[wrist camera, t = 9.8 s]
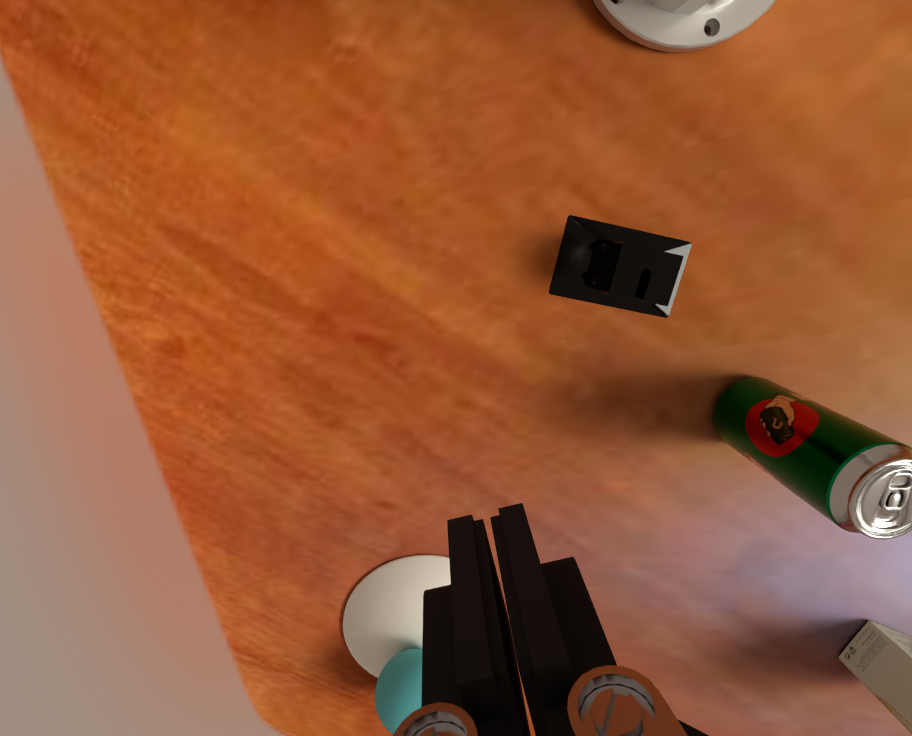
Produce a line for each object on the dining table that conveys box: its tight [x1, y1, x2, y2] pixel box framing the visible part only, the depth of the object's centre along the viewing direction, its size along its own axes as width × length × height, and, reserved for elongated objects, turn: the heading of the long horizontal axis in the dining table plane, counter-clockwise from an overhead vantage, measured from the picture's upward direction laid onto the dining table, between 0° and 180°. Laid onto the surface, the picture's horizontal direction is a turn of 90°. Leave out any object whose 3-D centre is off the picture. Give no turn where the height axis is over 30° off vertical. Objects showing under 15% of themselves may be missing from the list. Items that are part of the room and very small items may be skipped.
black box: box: [549, 215, 692, 318], centre depth 31 cm, size 12×7×5 cm, turn 78°
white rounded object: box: [343, 555, 451, 678], centre depth 39 cm, size 12×12×1 cm
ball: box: [375, 649, 422, 734], centre depth 38 cm, size 6×6×6 cm
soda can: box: [713, 377, 912, 539], centre depth 30 cm, size 5×5×12 cm
